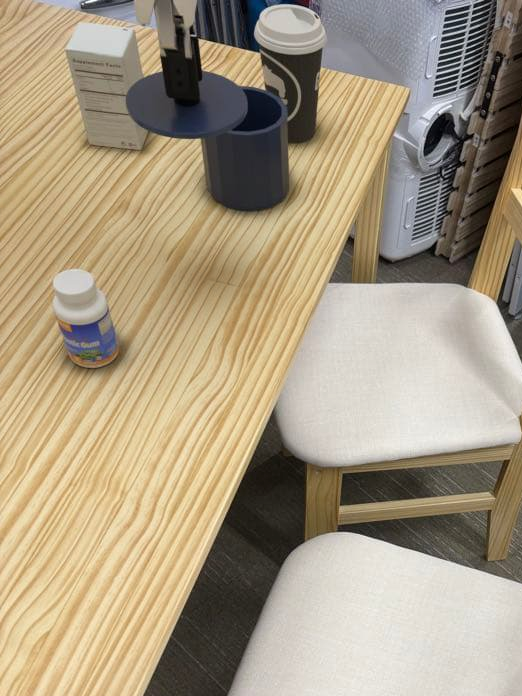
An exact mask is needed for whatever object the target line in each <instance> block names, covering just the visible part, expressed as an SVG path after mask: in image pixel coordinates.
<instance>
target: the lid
mask: <svg viewBox="0 0 522 696" xmlns="http://www.w3.org/2000/svg"><path fill="white" fill-rule="evenodd" d="M181 37H182V39H183V36H182V35H181ZM190 41H191V49H192V54H193V55H195V52H194V43H193V40H192V39H191V38H190ZM202 75H203V76H202V80H201V81H199V90H200V97H199V99H198V100H190V99H175V98H169V97H167V95H166V90H165V84H164V77H163V71H162V70H161V71H157V72H153V73H151V74H148V75H146V76H143V77H144V78H142V79H140V80H139V81H137V82H136V83H135V84H133V85H132V86H131V87H130V89H129V90H128V92H127V95H126V100H125V102H126V108H127V111H128V114H129V115H130V117H131V118H132V120H133V121H134V122H135V123H137V124H138V125H139V126H141V127H142V128H144V129H146V130H148V132H150V133H152V134H156V135H158V136H162V137H166V138H172V139H177V140H178V139H180V140H199V139H200V140H201V138H208V137H213V136H217V135H220V134H223V133H225V132H228V131H230V130H232V129H234V128H235V127H236V126H238V125H239V124H240V123H241V122H242V121H243V120H244V118H245V116H246V114H247V110H248V103H247V98H246V95H245V93H244V91H243V90H242V89H241V88H240V87H239V86H240V85H238V84H237V83H236V82H234V81H233V80H231V79H229V78H228V77H226V76H224V75H221V74H218V73H215V72H211V71H206V70H202Z"/></svg>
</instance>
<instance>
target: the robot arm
mask: <svg viewBox="0 0 522 696" xmlns="http://www.w3.org/2000/svg"><path fill="white" fill-rule="evenodd" d="M197 4H198V0H133V5H134V13H135V20H136V22H137V23H138V24H139V25H140V26H141V27H146V26H147V25H148V26H149V25H150V24H151V19H152V15H153V11H154V18H155V25H156V26H155V27H156V32H157V39H158V45H159V58H160V64H161V71H163V77H164V84H165V90H166V95H167V97H169V98H175V99H190V100H198V99H199V97H200V90H199V81H201V80H202V76H203V75H202V71H203V67H202V59H201V50H200V41H199V36H197V25H196V18H195V17H196V11H197ZM181 35H182V36H183V39H182V37H181ZM190 38H191V39H192V40H193V43H194V52H195V55H193V54H192V49H191V41H190Z"/></svg>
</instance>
